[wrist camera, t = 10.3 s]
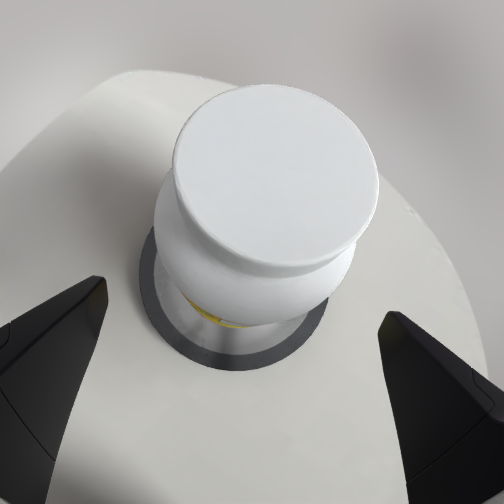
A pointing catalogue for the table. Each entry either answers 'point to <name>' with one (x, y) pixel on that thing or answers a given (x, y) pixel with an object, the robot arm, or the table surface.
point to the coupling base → (210, 334)
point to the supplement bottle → (264, 204)
